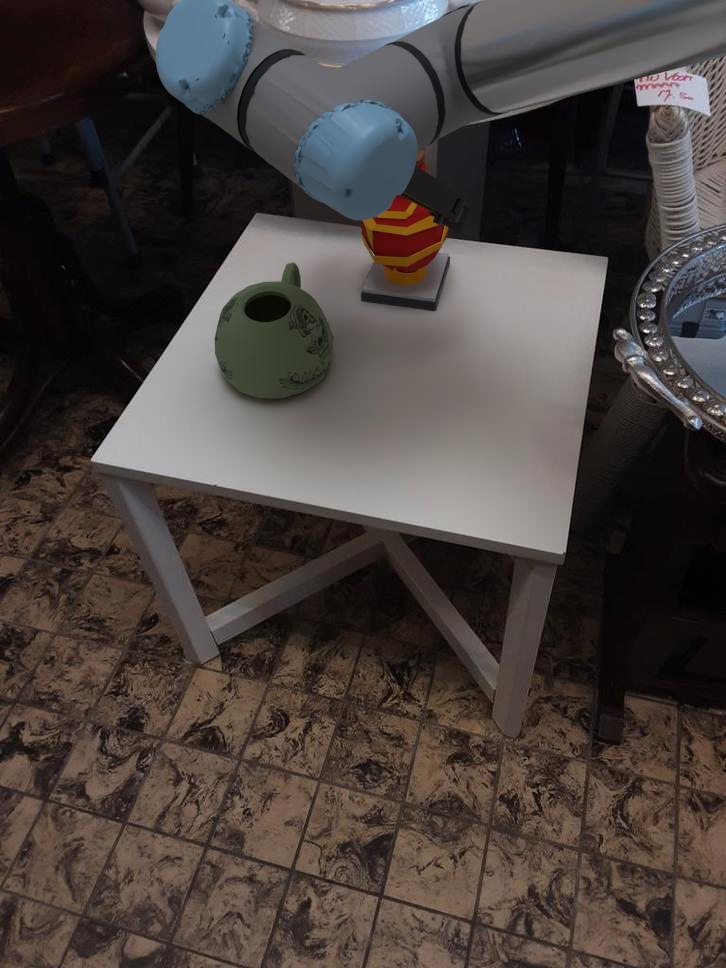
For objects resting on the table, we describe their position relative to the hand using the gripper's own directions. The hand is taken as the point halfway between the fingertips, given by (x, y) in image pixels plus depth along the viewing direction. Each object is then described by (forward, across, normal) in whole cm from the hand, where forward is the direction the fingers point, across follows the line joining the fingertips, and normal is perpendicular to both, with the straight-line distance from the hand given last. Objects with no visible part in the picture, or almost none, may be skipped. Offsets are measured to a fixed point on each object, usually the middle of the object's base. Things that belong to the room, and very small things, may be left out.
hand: (410, 199), depth 85 cm
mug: (-6, -4, -21) cm, 22 cm away
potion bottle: (+6, 0, -7) cm, 9 cm away
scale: (+7, 0, -8) cm, 11 cm away
